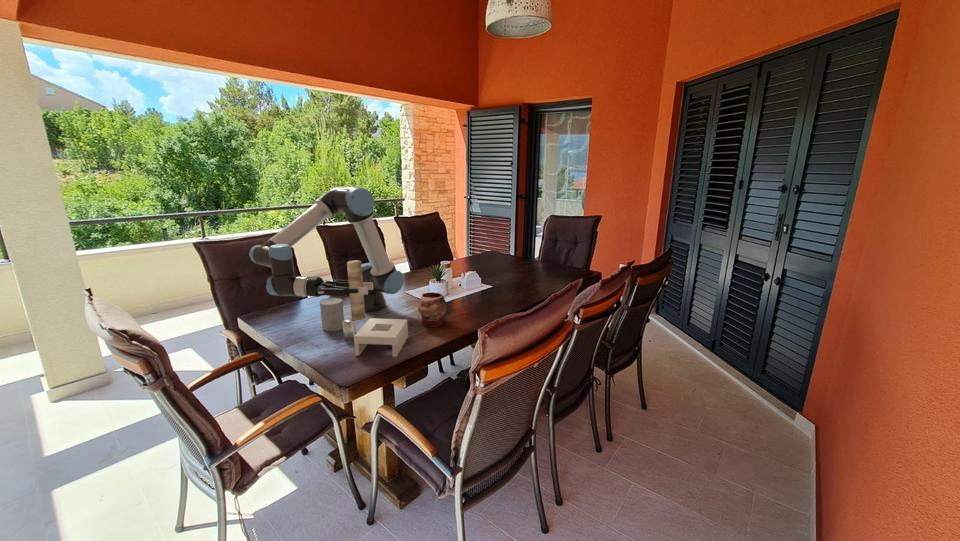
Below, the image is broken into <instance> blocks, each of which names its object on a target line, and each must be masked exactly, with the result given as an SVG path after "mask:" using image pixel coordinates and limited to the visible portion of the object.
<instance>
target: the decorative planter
mask: <svg viewBox="0 0 960 541" xmlns="http://www.w3.org/2000/svg"><path fill="white" fill-rule="evenodd" d="M447 306H448V305H447V301H446V299H445V297H444V294H442V293H441V292H424V293H422V294H421V296H420V302H419V304H418V306H417V310H418V312H419V313H418V314H420V315H421V324H422V326H425V327H428V328H437V327H438V328H439V327H440V326H442V325H443V323H444V321H445V314H446V311H447Z"/></svg>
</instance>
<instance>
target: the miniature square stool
mask: <svg viewBox="0 0 960 541" xmlns="http://www.w3.org/2000/svg"><path fill="white" fill-rule="evenodd" d="M408 331H409V328H408V319H406V318H405V319H403V318H402V319H398V318H371V317H370V318H369V319H368V320H367V321H366V322H365V323H364V324H363V325H362V326H361V328H360V329H359V330H358V331H356V334H355V335H354V340H353V341H354V344H353V345H354V356H360V355H361V354H362V352H363V351H364V350H365V349H366V348H367V347H368V345H383V346H384V345H388V346H391V348H392V349H391V352H392V358H397V357H398V355H399V354H398V353H400V352H401V350H402V348H403V347H402V346H404V345H405V343H406V341H407V340H406V339H408V337H409V332H408Z"/></svg>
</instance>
